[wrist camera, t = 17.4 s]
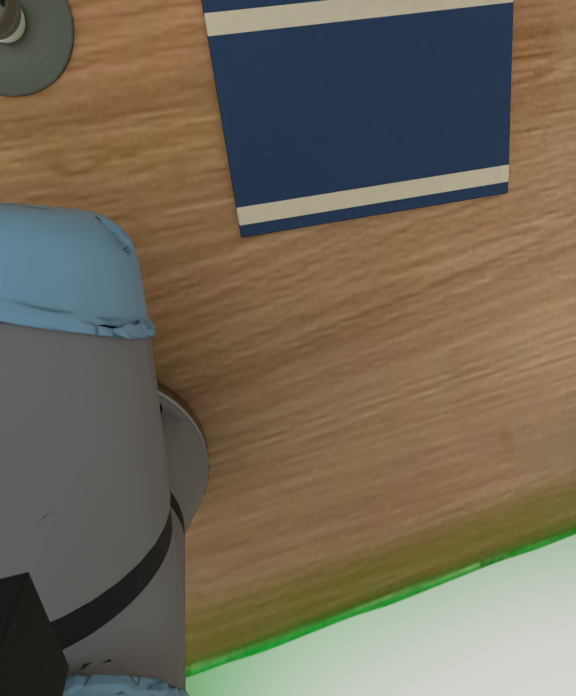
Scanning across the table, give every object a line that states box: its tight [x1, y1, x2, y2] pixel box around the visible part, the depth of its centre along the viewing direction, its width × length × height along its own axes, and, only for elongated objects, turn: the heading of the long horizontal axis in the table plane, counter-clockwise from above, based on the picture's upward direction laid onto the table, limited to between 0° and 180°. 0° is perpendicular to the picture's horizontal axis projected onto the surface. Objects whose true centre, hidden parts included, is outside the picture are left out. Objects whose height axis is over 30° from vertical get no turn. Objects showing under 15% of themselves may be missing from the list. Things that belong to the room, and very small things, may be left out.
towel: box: [202, 0, 514, 237], centre depth 33 cm, size 20×14×1 cm
